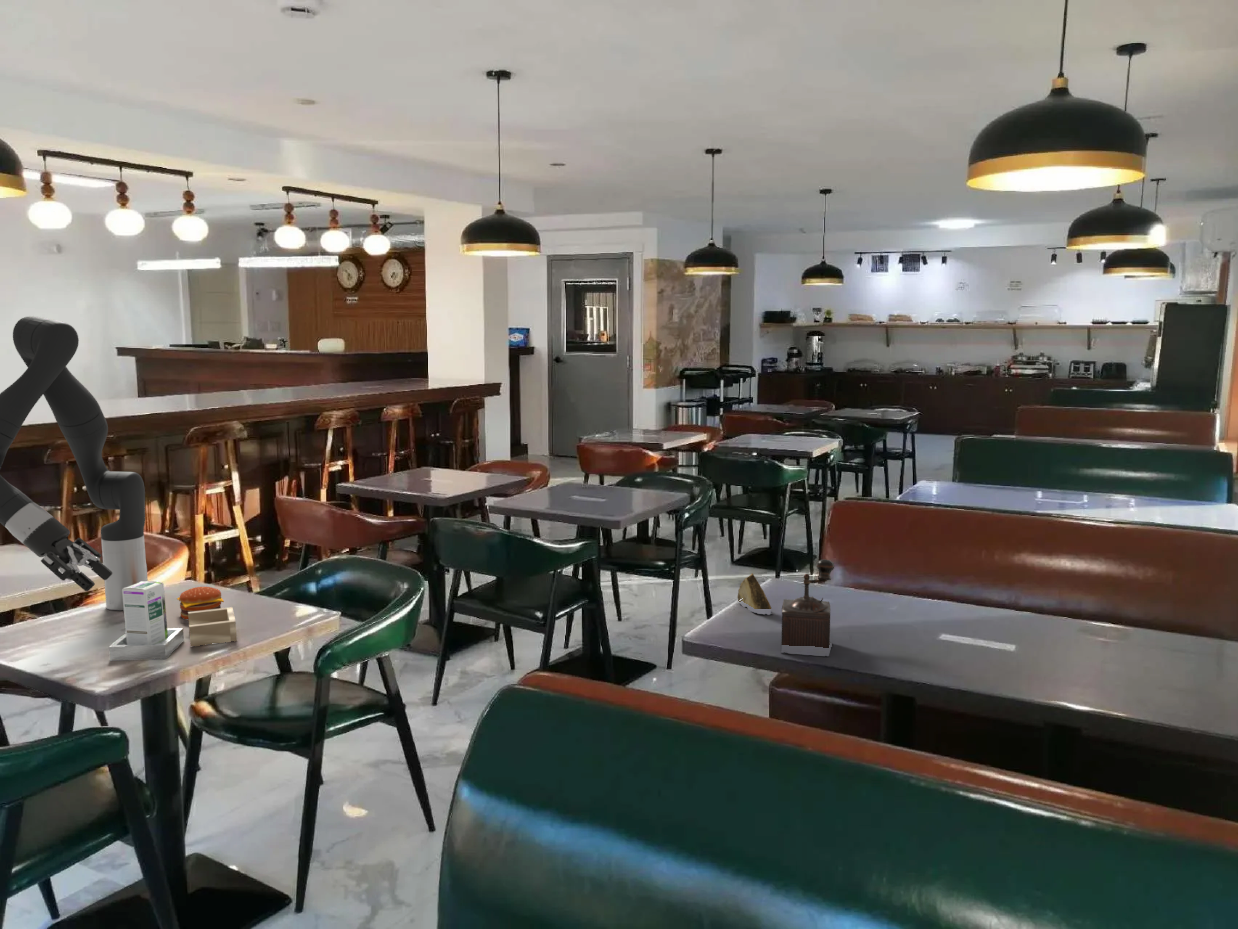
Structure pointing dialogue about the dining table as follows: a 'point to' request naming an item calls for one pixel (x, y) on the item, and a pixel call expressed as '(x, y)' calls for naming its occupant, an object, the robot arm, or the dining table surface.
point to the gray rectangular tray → (146, 647)
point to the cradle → (212, 626)
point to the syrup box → (145, 613)
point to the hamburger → (199, 600)
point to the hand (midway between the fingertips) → (100, 582)
